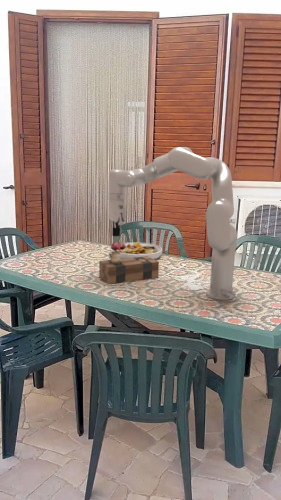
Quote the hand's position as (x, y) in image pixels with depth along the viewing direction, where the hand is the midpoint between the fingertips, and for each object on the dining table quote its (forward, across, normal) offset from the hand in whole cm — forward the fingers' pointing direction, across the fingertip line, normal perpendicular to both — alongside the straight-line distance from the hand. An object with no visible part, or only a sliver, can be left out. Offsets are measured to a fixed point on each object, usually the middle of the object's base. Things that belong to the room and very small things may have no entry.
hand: (116, 235), depth 211 cm
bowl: (+22, +36, -28) cm, 50 cm away
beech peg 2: (+21, 0, -14) cm, 25 cm away
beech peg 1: (+16, 0, 0) cm, 16 cm away
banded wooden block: (+21, 0, -7) cm, 22 cm away
